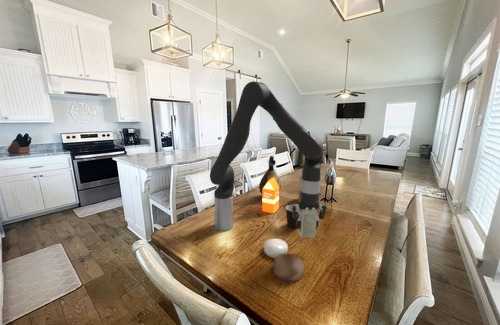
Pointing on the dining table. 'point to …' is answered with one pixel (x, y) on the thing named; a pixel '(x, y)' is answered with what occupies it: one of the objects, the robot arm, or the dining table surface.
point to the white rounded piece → (275, 247)
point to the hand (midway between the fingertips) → (306, 227)
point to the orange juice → (270, 196)
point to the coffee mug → (291, 217)
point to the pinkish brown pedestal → (288, 267)
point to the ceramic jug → (269, 175)
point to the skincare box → (308, 223)
